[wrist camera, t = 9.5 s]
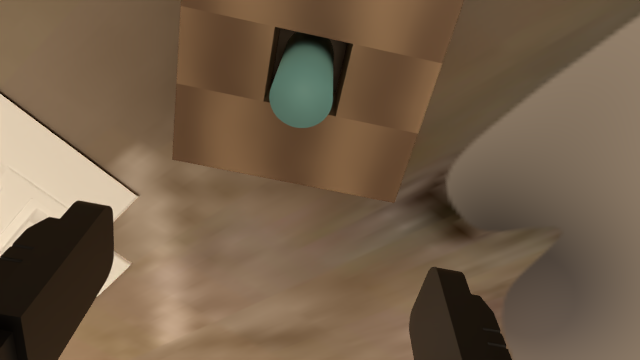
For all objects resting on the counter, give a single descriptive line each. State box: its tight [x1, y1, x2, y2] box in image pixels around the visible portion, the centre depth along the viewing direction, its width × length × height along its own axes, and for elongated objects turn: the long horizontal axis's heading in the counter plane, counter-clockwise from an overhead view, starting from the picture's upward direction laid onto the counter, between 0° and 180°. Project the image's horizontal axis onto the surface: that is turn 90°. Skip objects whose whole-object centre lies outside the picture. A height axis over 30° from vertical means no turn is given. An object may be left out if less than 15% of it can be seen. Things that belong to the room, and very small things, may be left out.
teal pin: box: [269, 32, 334, 128], centre depth 26 cm, size 3×3×8 cm
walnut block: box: [172, 0, 464, 203], centre depth 27 cm, size 14×14×4 cm
